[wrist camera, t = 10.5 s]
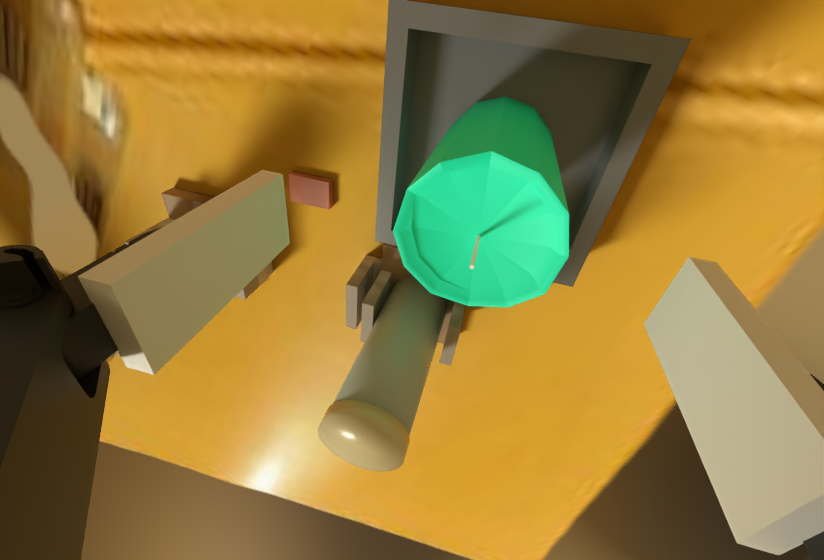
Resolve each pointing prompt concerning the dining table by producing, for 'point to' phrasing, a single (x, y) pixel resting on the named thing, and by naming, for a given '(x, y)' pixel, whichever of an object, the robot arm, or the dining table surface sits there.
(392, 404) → the fuse
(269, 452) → the dining table surface
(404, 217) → the candle
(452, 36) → the tray
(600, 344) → the dining table surface
